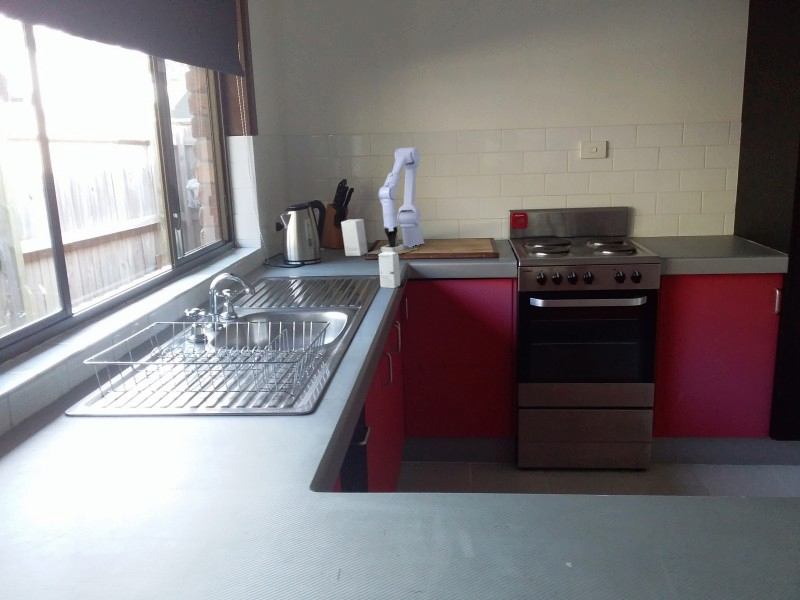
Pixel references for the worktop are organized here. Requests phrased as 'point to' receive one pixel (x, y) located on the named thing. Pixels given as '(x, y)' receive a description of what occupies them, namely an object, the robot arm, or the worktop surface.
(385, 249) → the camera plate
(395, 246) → the jar with red lid
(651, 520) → the worktop surface
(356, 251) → the skincare box
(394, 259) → the skincare box
